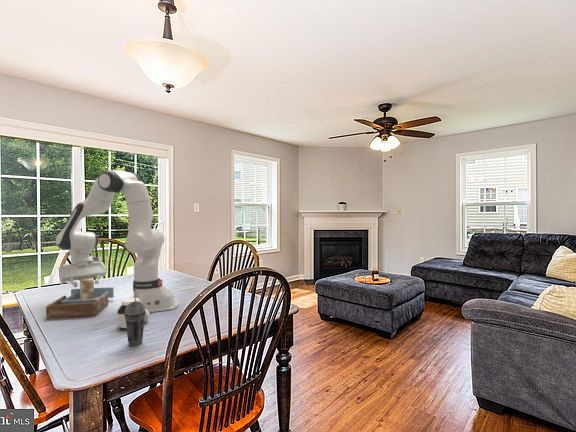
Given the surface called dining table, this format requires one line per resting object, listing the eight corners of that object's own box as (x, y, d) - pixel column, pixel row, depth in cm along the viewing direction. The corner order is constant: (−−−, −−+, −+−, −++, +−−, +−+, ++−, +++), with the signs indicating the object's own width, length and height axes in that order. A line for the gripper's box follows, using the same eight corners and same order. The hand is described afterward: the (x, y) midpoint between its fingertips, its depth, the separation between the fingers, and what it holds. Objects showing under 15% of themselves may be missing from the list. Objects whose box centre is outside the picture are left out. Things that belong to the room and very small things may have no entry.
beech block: (91, 299, 166) (91, 278, 166) (93, 301, 162) (93, 279, 162) (80, 301, 163) (79, 279, 162) (82, 303, 159) (82, 281, 159)
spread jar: (115, 332, 129) (115, 303, 129) (121, 322, 140) (121, 295, 139) (147, 328, 132) (147, 301, 132) (151, 319, 143) (150, 293, 143)
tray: (73, 298, 170) (73, 288, 170) (114, 296, 175) (114, 286, 175) (56, 309, 152) (56, 297, 152) (103, 306, 157) (102, 295, 156)
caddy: (63, 307, 159) (63, 295, 159) (107, 305, 164) (107, 293, 164) (46, 319, 143) (46, 306, 143) (95, 316, 147) (95, 303, 147)
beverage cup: (122, 349, 113) (121, 293, 113) (126, 341, 120) (126, 288, 120) (144, 347, 115) (144, 291, 115) (147, 338, 122) (147, 287, 122)
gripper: (58, 261, 160) (62, 284, 154) (104, 257, 174) (109, 278, 168) (57, 269, 164) (61, 292, 157) (102, 264, 178) (107, 285, 171)
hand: (86, 284), depth 162 cm, fingers open, 8 cm apart
